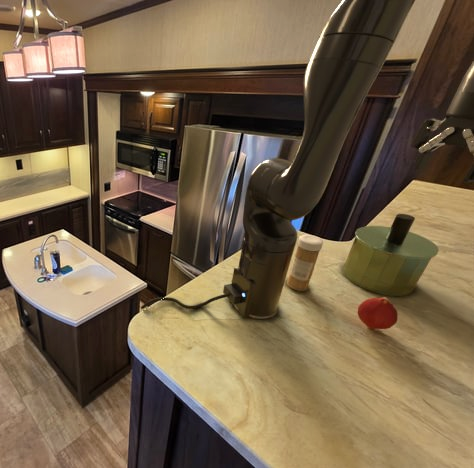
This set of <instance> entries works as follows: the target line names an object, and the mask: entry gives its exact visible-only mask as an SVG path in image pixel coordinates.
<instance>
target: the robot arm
mask: <svg viewBox="0 0 474 468" xmlns="http://www.w3.org/2000/svg"><path fill="white" fill-rule="evenodd" d="M415 2H416V0H341V2H340V3H339V4H338V6H337V7H336V8H335V10H334V11H333V13H332V14H331V15H330V16H329V18H328V19H327V21H326V23H325V25H324V26H323V28H322V30H321V32H320V34H319V37H318V39H317V41H316V44H315V46H314V48H313V51H312V53H311V56H310V58H309V60H308V62H307V66H306V68H305V70H304V75H303V79H302V96H303V97H302V98H303V99H302V100H303V114H304V127H303V132H302V137H301V140H300V143H299V146H298V149H297V151H296V153H295V155H294V158H293V160H292V161H290V160H287V159H284V158H280V157H272V158H267V159H264V160H263V161H261V162H260V163H259V164H258V165H257V166H256V167H255V168H254V169H253V171H252V173H251V174H250V176H249V179H248V182H247V184H246V189H245V197H244V204H243V212H242V213H243V214H242V226H243V228H244V235H243V239H242V244H241V245H242V246H241V252H240V256H239V262H238V266H235V267H234V268H233V272H232V278H231V283H227V284H224V285H223V291H222V293H223V294H219V295H217V296H214V297H212V298H209V299H207V300H206V301H204V302H201V303H197V304H193V305H188V304H184V303H182V302H181V301H180V300H178V299H177V298H174V297H168V296H166V298H165V296H164V297H163V296H162V297H156V298H153V299H150V300H148V301H147V302H145V303H144V304H143V305H141V306H140V309H142V310H143V309H145V308H146V307H148V306H149V305H151V304H154V303H155V302H163V301H165V302H166V301H167V302H173V303H176V304H177V305H179V306H180V307H182V308H184V309H186V310H187V309H188V310H195V309H199V308H201V307H204V306H206V305H209V304H210V303H212V302H215V301H218V300H221V299H225V298H227V300H228V301H229V303H230V304H231V305H232V306H233V307H234V308H235V310H236V311H237V312H238V313H239V314H240V316H242V317H243V318H251V319H256V320H268V319H270V318H274V316H276V314H277V313H278V307H279V303H280V300H281V296H282V293H283V289H284V285H285V283H286V279H287V275H288V271H289V269H290V264H291V261H292V258H293V254H294V251H295V247H296V244H297V242H298V231H297V229H296V228H295V226H294V225H293V223H292V222H291V221H297V220H299V219H302V218H304V217H305V216H307V215H308V214H309V213H310V212H311V211H312V210H314V208H315V207H316V206H317V204H318V203H319V202H320V200H321V198H322V196H323V194H324V193H325V190H326V188H327V186H328V183H329V182H330V179H331V176H332V173H333V171H334V168H335V166H336V164H337V161H338V158H339V156H340V154H341V151H342V149H343V147H344V146H343V145H344V144H345V141H346V139H347V136H348V135H349V133H350V130H351V128H352V125H353V124H354V122H355V120H356V118H357V115H358V114H359V112H360V110H361V107H362V105H363V103H364V101H365V100H366V98H367V95H368V93H369V92H370V89H371V88H372V86H373V84H374V83H375V81H376V79H377V77H378V75H379V74H380V71H381V70H382V68H383V66H384V64H385V62H386V60H387V58H388V56H389V54H390V52H391V50H392V48H393V46H394V44H395V43H396V41H397V38H398V36H399V34H400V32H401V30H402V28H403V25H404V23H405V21H406V19H407V18H408V16H409V13H410V12H411V10H412V8H413V6H414V4H415ZM437 129H438V130H439V134H438V135H436V136H434V137H433V138H432V139H430V138H431V137H432V135H433V133H434V131H436V130H437ZM417 130H418V131H417V133H416V134H415V136H414V138H413V140H412V142H411V144H410V147H411V148H412V149H416V150H417V151H418V154H417V156H416V158H415V160H414V163H413V167H414V168H413V170H414V171H419V172H420V171H425V170H426V169H427V166H428V164H429V163H430V160H431V158H432V156H433V155H434V152H433V151H435V150H437V149H439V148H440V147H442V146H444V145H445V146H457V147H459V148H468V150H469V153H471V154H472V155H473V156H474V60H473V61H472V63H471V64H470V66H469V68H468V69H467V71H466V72H465V74H464V76H463V77H462V79H461V80H460V84H459V86H458V87H457V90H456V92H455V93H454V95H453V97H452V100H451V103H450V104H449V106H448V109H447V110H446V113H445V117H444V119H442V120H440V119H438V118H427V119H424V120H423V121H422V123H421V125H420V126H419V129H417ZM462 182H465V183H468V184H469V183H474V162H472V163H471V165H470V167H469V169H468V170H467V172H466V174H465V175H464V178H463V179H462ZM163 298H164V299H163ZM161 299H162V300H161Z"/></svg>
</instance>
